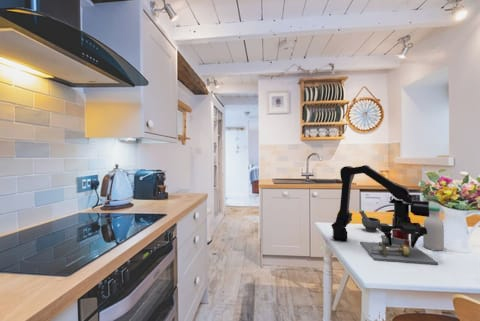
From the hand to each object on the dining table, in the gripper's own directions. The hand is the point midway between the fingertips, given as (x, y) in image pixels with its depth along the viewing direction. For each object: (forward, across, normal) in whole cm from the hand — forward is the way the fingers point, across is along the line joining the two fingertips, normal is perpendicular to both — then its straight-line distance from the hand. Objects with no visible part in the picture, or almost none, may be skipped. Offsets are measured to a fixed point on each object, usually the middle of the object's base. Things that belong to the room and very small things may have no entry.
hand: (401, 246), depth 110 cm
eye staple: (+2, -10, -6) cm, 12 cm away
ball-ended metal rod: (+1, -1, +5) cm, 5 cm away
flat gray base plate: (+2, -3, -1) cm, 4 cm away
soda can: (+3, +7, +17) cm, 18 cm away
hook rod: (+1, -8, -6) cm, 10 cm away
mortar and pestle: (+3, -3, +33) cm, 33 cm away
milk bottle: (+3, +18, +9) cm, 20 cm away
